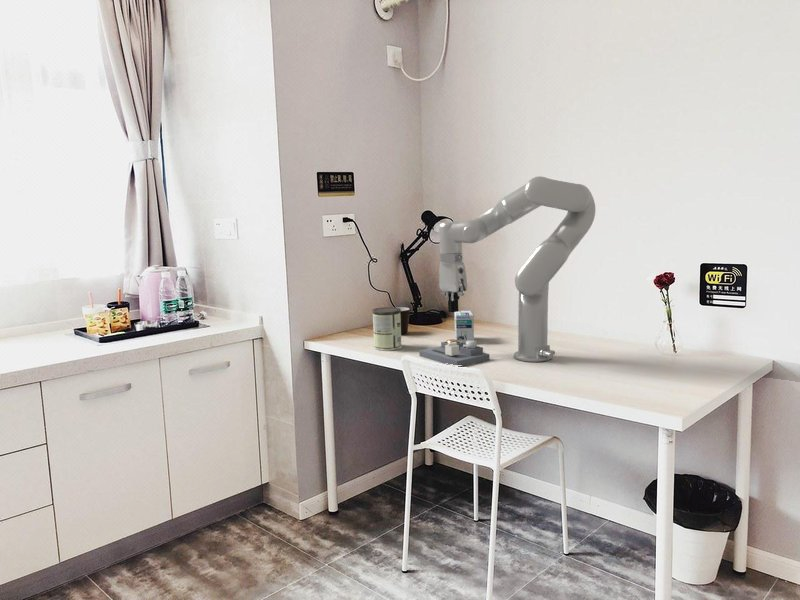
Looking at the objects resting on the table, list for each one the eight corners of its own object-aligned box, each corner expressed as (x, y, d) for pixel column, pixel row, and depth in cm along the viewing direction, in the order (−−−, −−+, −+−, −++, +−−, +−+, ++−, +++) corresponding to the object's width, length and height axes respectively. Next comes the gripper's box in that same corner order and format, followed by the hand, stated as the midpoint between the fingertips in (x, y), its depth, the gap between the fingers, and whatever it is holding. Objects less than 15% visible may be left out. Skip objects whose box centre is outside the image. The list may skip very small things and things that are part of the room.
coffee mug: (393, 331, 274) (392, 307, 272) (413, 332, 271) (412, 307, 269) (382, 337, 263) (382, 311, 261) (403, 338, 260) (402, 312, 258)
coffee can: (374, 344, 250) (373, 307, 248) (401, 344, 250) (401, 306, 247) (372, 351, 240) (371, 312, 238) (401, 350, 239) (400, 311, 237)
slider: (459, 354, 221) (458, 343, 220) (451, 355, 219) (451, 344, 219) (452, 352, 224) (452, 341, 223) (445, 354, 222) (445, 342, 221)
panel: (489, 360, 222) (489, 348, 222) (457, 367, 214) (456, 355, 214) (450, 349, 239) (450, 338, 238) (419, 355, 231) (419, 344, 230)
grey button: (479, 349, 224) (479, 341, 223) (470, 350, 221) (470, 343, 221) (471, 347, 226) (471, 339, 226) (463, 349, 224) (463, 341, 224)
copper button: (459, 347, 232) (459, 340, 231) (451, 349, 230) (451, 342, 229) (452, 346, 235) (452, 338, 234) (444, 347, 233) (444, 340, 232)
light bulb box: (474, 343, 247) (474, 315, 245) (456, 344, 247) (455, 315, 246) (471, 337, 258) (471, 310, 256) (454, 338, 258) (453, 310, 256)
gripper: (474, 258, 223) (476, 312, 226) (445, 256, 236) (448, 308, 238) (457, 260, 219) (459, 315, 222) (428, 258, 231) (431, 311, 234)
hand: (453, 311), depth 230 cm, fingers closed
